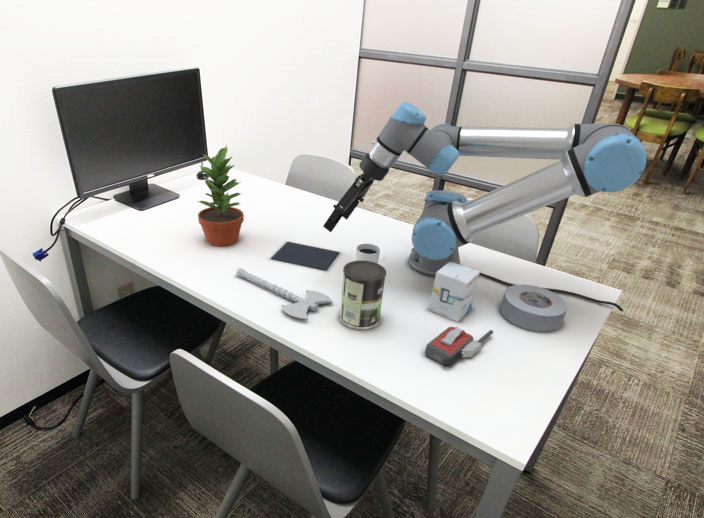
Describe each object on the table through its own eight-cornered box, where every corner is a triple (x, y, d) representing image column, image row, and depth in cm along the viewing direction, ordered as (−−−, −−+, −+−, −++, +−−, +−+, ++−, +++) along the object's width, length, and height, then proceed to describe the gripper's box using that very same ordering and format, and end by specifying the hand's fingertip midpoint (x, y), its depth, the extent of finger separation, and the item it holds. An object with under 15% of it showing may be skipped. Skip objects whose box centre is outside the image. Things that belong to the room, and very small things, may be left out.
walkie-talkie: (453, 374, 109) (494, 337, 122) (457, 359, 107) (499, 322, 119) (419, 356, 114) (462, 322, 127) (422, 341, 112) (466, 308, 124)
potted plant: (191, 246, 158) (182, 152, 142) (210, 228, 171) (204, 139, 155) (235, 253, 155) (231, 157, 140) (251, 234, 168) (249, 144, 152)
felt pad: (339, 253, 158) (339, 252, 158) (326, 270, 148) (326, 269, 147) (287, 242, 163) (287, 241, 163) (271, 259, 153) (271, 257, 153)
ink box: (442, 297, 137) (450, 260, 131) (471, 309, 132) (481, 270, 126) (427, 310, 131) (435, 271, 125) (457, 322, 127) (467, 283, 120)
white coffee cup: (379, 278, 145) (384, 247, 140) (370, 288, 140) (374, 256, 135) (359, 272, 148) (362, 241, 142) (349, 281, 143) (352, 250, 137)
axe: (221, 284, 139) (220, 276, 138) (255, 267, 148) (255, 259, 147) (303, 325, 123) (303, 317, 122) (336, 303, 132) (337, 295, 131)
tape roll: (570, 316, 131) (577, 300, 128) (546, 339, 122) (552, 322, 119) (515, 294, 140) (520, 278, 137) (488, 313, 131) (493, 297, 128)
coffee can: (380, 310, 130) (387, 262, 123) (377, 332, 122) (385, 282, 114) (342, 305, 132) (346, 257, 124) (336, 326, 123) (340, 277, 116)
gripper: (380, 145, 140) (339, 204, 152) (352, 159, 119) (308, 225, 131) (401, 162, 140) (359, 219, 151) (377, 178, 119) (330, 243, 130)
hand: (335, 222), depth 141 cm, fingers open, 13 cm apart
